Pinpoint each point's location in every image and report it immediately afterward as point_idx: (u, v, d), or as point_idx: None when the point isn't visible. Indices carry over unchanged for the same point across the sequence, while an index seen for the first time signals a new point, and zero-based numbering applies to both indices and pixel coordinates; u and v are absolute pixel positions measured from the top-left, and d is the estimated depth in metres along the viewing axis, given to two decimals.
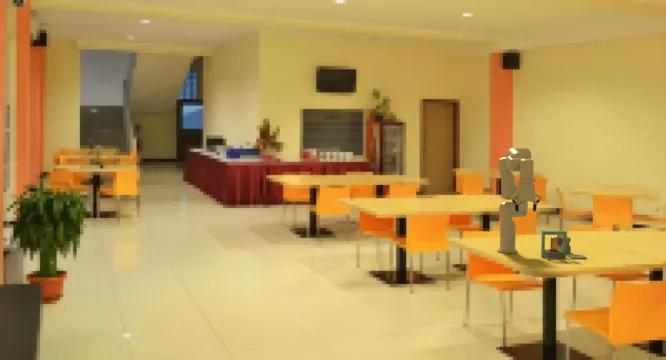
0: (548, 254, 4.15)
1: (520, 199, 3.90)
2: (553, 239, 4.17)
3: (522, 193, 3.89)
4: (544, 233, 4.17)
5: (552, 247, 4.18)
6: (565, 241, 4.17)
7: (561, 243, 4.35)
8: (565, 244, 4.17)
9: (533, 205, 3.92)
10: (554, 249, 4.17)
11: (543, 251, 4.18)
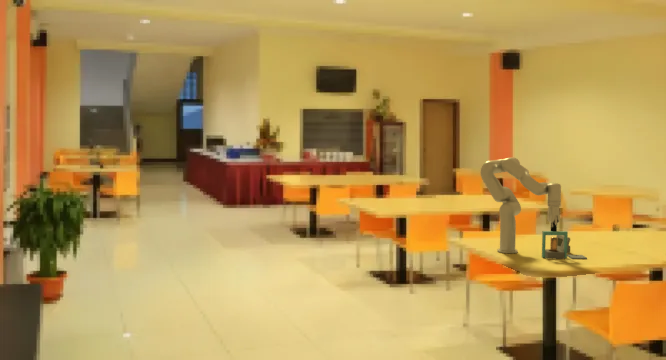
0: (548, 254, 4.15)
1: None
2: (553, 239, 4.17)
3: None
4: (545, 233, 4.16)
5: (552, 247, 4.18)
6: (566, 241, 4.16)
7: (561, 243, 4.36)
8: (566, 244, 4.16)
9: None
10: (554, 249, 4.17)
11: (544, 251, 4.17)
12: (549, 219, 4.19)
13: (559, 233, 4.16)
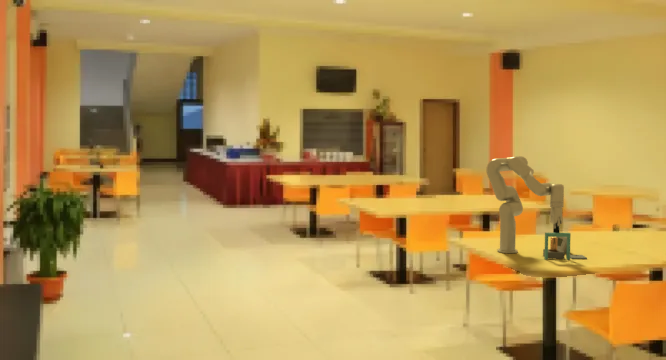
0: (548, 254, 4.15)
1: None
2: (553, 239, 4.17)
3: None
4: (547, 235, 4.10)
5: (552, 247, 4.18)
6: (569, 243, 4.10)
7: (561, 243, 4.36)
8: (569, 246, 4.10)
9: None
10: (554, 249, 4.17)
11: (546, 253, 4.11)
12: (552, 220, 4.14)
13: (562, 234, 4.10)
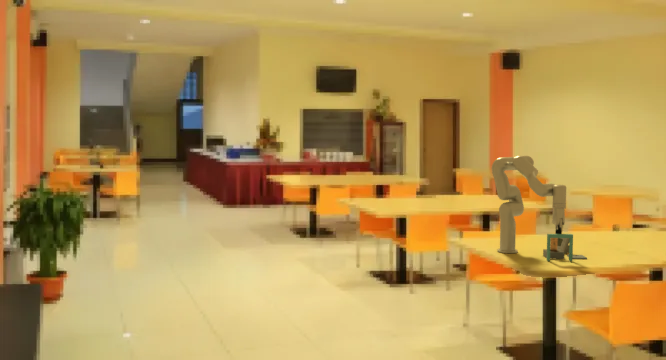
0: None
1: None
2: (553, 239, 4.17)
3: None
4: (550, 236, 4.05)
5: (552, 247, 4.18)
6: (571, 244, 4.05)
7: (561, 243, 4.36)
8: (571, 247, 4.05)
9: None
10: (554, 249, 4.17)
11: (549, 255, 4.06)
12: (554, 221, 4.09)
13: (564, 236, 4.05)
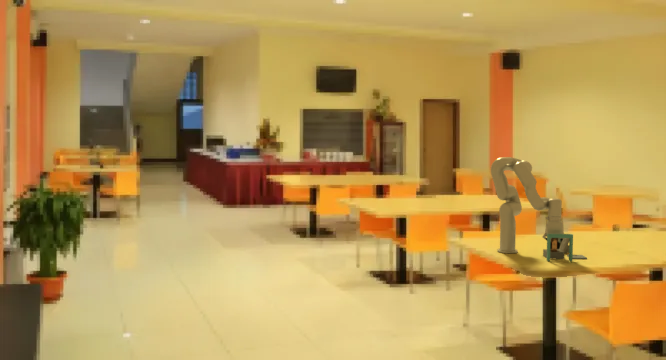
0: None
1: None
2: (553, 239, 4.17)
3: None
4: (550, 236, 4.05)
5: (552, 247, 4.18)
6: (571, 244, 4.05)
7: (560, 243, 4.36)
8: (571, 247, 4.05)
9: (550, 243, 4.19)
10: (554, 249, 4.17)
11: (549, 255, 4.06)
12: None
13: (564, 236, 4.05)
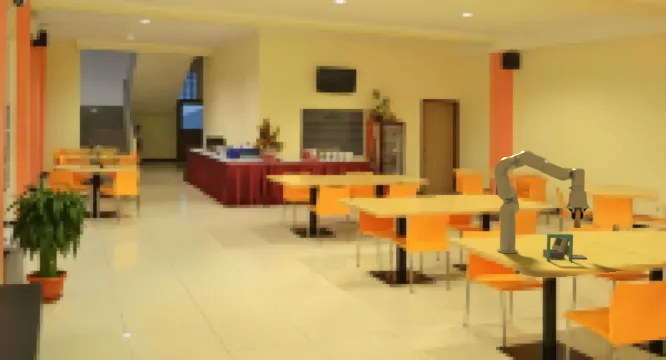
0: None
1: None
2: (576, 209, 4.15)
3: None
4: (550, 236, 4.05)
5: (576, 217, 4.16)
6: (571, 244, 4.05)
7: (560, 243, 4.36)
8: (571, 247, 4.05)
9: None
10: (578, 219, 4.15)
11: (549, 255, 4.06)
12: (580, 205, 4.14)
13: (564, 236, 4.05)
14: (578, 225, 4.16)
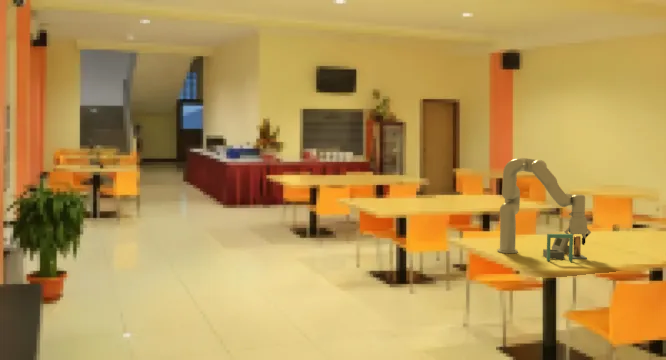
0: None
1: None
2: (576, 238, 4.17)
3: None
4: (550, 236, 4.05)
5: (575, 246, 4.17)
6: (571, 244, 4.05)
7: (560, 243, 4.36)
8: (571, 247, 4.05)
9: None
10: (577, 248, 4.17)
11: (549, 255, 4.06)
12: (580, 231, 4.15)
13: (564, 236, 4.05)
14: (578, 254, 4.17)
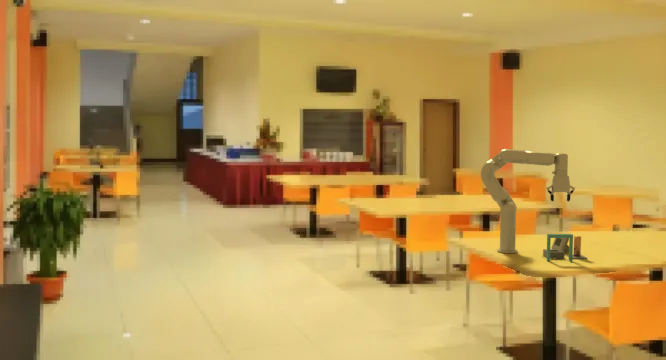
0: None
1: None
2: (577, 238, 4.17)
3: None
4: (550, 236, 4.05)
5: (576, 246, 4.17)
6: (571, 244, 4.05)
7: (559, 243, 4.36)
8: (571, 247, 4.05)
9: None
10: (578, 248, 4.17)
11: (549, 255, 4.06)
12: (562, 189, 4.24)
13: (564, 236, 4.05)
14: (578, 254, 4.17)
